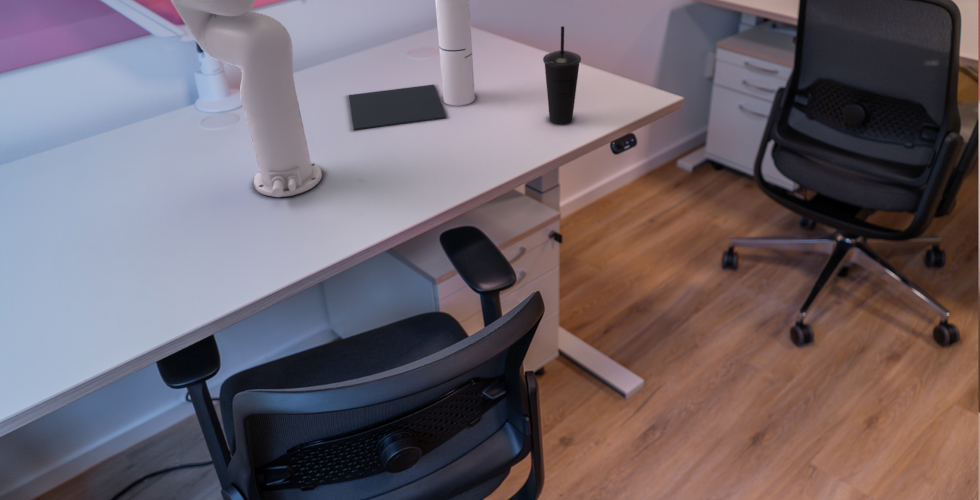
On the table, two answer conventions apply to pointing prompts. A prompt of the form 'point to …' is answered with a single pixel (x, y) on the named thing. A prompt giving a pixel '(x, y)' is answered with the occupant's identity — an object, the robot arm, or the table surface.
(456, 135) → the table surface
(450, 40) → the cylindrical container
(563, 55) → the drinking cup
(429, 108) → the desk mat
